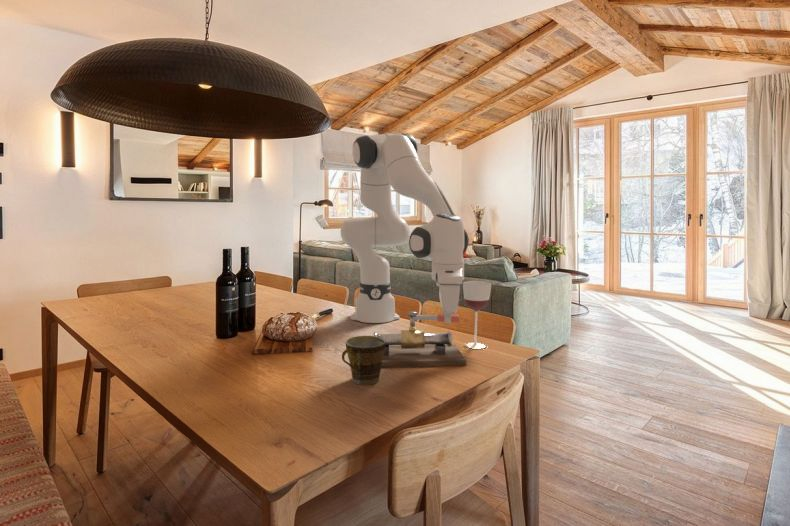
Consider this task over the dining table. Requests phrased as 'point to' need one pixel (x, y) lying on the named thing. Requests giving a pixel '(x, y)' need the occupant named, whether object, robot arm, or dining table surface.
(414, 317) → the valve lever
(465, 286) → the wineglass
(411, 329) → the pipe valve
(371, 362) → the ceramic cup
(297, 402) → the dining table surface
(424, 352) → the walnut board
